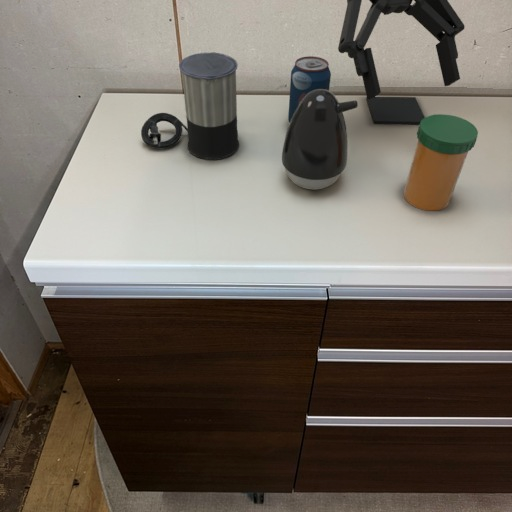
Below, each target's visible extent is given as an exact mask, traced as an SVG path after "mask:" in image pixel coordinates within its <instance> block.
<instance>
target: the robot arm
mask: <svg viewBox="0 0 512 512" xmlns="http://www.w3.org/2000/svg"><path fill="white" fill-rule="evenodd" d="M368 1H369V2H370V3H371V5H370V7H369V10H368V11H367V14H366V16H365V19H364V21H363V23H362V25H361V27H360V29H359V31H358V33H357V35H356V30H357V25H358V21H359V15H360V10H361V6H362V2H363V1H362V0H346V3H347V5H346V10H345V14H344V19H343V24H342V29H341V34H340V37H339V42H338V47H337V50H338V52H339V53H340V54H345V53H347V56H348V58H349V59H353V63H354V68H355V71H356V74H357V77H361V78H362V81H363V82H362V83H363V87H364V91H365V94H366V97H367V100H368V99H372V98H374V97H377V96H378V95H379V94H381V93H382V91H381V85H380V82H379V77H378V72H377V69H376V64H375V60H374V55H373V51H372V48H371V47H366V45H367V43H368V41H369V39H370V37H371V35H372V33H373V32H374V31H373V30H374V29H375V26H376V24H377V23H378V20H379V19H380V16H381V14H383V16H387V15H391V14H393V13H394V14H403V12H404V13H405V14H406V15H407V16H412V17H413V19H414V20H416V22H418V23H419V24H420V25H421V26H422V27H423V28H424V29H425V30H426V31H428V33H429V34H430V35H432V36H433V37H434V38H435V39H436V40H437V41H438V43H436V44H435V49H436V54H437V58H438V62H439V68H440V71H441V76H442V81H443V85H444V87H448V86H451V85H453V84H455V83H456V82H458V81H459V80H461V76H460V71H459V67H458V62H457V59H458V58H459V52H458V48H457V43H456V36H458V34H460V33H461V32H463V31H465V28H466V27H465V23H464V22H463V20H462V19H461V17H460V16H459V15H458V14H457V12H456V11H455V9H454V8H453V7H452V4H450V2H449V0H368ZM413 1H414V3H413ZM412 3H413V4H412ZM355 35H356V37H355ZM365 47H366V48H365ZM367 100H366V101H367Z"/></svg>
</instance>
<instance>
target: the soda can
mask: <svg viewBox="0 0 512 512" xmlns="http://www.w3.org/2000/svg"><path fill="white" fill-rule="evenodd" d="M331 77H332V73H331V70H330V67H329V62H328V61H327V60H326V59H325V58H323V57H319V56H309V55H307V56H302V57H299V58H297V59H296V60H295V62H294V65H293V67H292V69H291V71H290V83H289V85H290V86H289V102H288V115H287V120H288V124H290V121H291V119H292V117H293V114H294V112H295V110H296V109H297V107H298V105H299V103H300V102H301V100H302V99H303V98H304V97H305V95H306V94H307V93H309V92H310V91H312V90H315V89H325V90H328V91H330V87H331V86H330V85H331Z"/></svg>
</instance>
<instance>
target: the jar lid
mask: <svg viewBox="0 0 512 512" xmlns="http://www.w3.org/2000/svg"><path fill="white" fill-rule="evenodd" d="M424 117H425V116H424ZM478 135H479V130H478V128H477V127H476V126H475V125H474V124H473V123H472V122H470V121H469V120H467V119H465V118H462V117H459V116H456V115H452V114H443V113H442V114H431V115H428V116H426V117H425V118H424V119H423V120H422V121H421V122H420V124H418V127H417V131H416V139H417V141H418V140H419V142H420V143H421V144H422V145H424V146H425V147H427V148H429V149H431V150H433V151H436V152H439V153H444V154H462V153H466V152H468V153H469V152H470V151H471V150H472V149H473V148H475V145H476V142H477V139H478Z"/></svg>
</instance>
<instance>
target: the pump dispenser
mask: <svg viewBox="0 0 512 512" xmlns="http://www.w3.org/2000/svg"><path fill="white" fill-rule="evenodd" d="M358 106H359V103H358V101H357V100H349V101H342V102H341V101H339V100H338V98H337V97H336V95H335V94H334V93H333V92H332V91H330V90H329V91H328V90H325V89H315V90H312V91H310V92H309V93H307V94H306V95H305V97H304V98H303V99H302V100H301V102H300V103H299V105H298V107H297V109H296V110H295V112H294V114H293V117H292V119H291V121H290V123H288V126H287V130H286V133H285V137H284V140H283V144H282V145H283V146H282V151H281V163H282V165H283V167H284V170H285V173H286V175H287V177H288V178H289V180H290V181H291V182H292V183H294V184H295V185H297V186H298V187H300V188H303V189H305V190H322V189H325V188H328V187H329V186H331V185H333V184H334V183H335V182H336V181H338V179H339V178H340V176H341V174H342V173H343V172H344V171H345V169H346V168H347V163H348V156H349V155H348V151H349V143H348V140H349V139H348V131H347V130H348V129H347V124H346V119H345V116H344V113H345V112H348V111H351V110H354V109H357V108H358Z"/></svg>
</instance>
